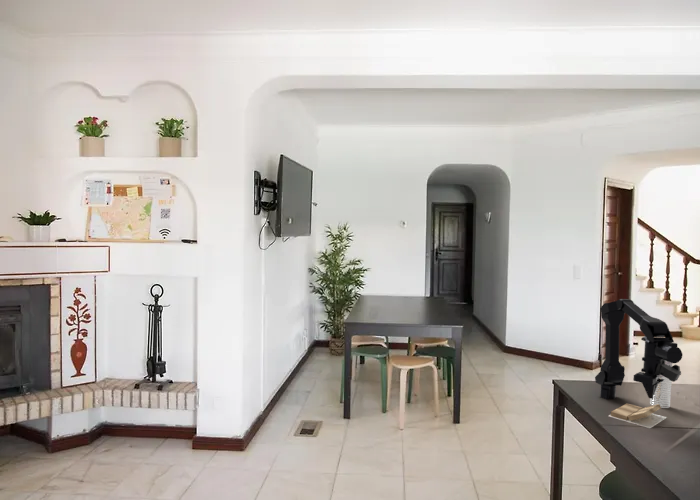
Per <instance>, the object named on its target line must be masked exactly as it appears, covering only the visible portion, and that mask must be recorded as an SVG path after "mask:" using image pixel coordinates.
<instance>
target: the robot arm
mask: <svg viewBox="0 0 700 500" xmlns="http://www.w3.org/2000/svg"><path fill="white" fill-rule="evenodd" d="M600 314H601V315H600V316H601V320H602V321H603V322H604V324H605V347H604V348H605V349H604V350H605V351H604V354H605V358H604V360H603V362H602V363H601V365H600V371H599V372H598V373H597V374H596V375H595V377H594V381H595V383H597V384H598V385H599V386H600V388H599V389H600V390H599V397H600V398H602V399H605V400H615V399H616V395H617V392H616V391H617V386H621V387H622V385H623V382H624V379H625V377H626V375H625V370H626V369H625V365H622V364H621V362H620V325H621V323H623V321H624V319H625V314H626V315H627V316H628V317H630V318H631V319H632V320H633V321H634V322H635V323H637V324H638V325H639V330H640V331H641V333H642V334H643V335H644V336H643V337H641V341H644V354H643V357H641V361H643V367H642V368H641V369H640V371H639V372H636V373H635V374H633V377H632V378H633V381H634V382H636V383H640V384H642V386H643V388H644V390H645V393H646V395H647V397H648V399H650V398H651V399H652V398H653V396H654V393H655V391H656V388H657V386H658V384H659V383H661V382H662V381H664V379H660V377H659V376H660V375H662V376H664V377H666V378H668V379H669V380H670V381H672V382H673V383H674V382H676V381H678V380H679V378H680V376H682V371H681V367H680V365H678V364H677V363H680V361H681V360H682V358H683V352H682V350H681V348H679V347H678V343H677V342H675V341H674V338H673V335H672V333H671V331H670V329H669V327H668V324H667V322H665V321H664V320H661V319H659V318H657V317H653V316H651V315H650V314H648V313H647V312H646V311H645V310H643V309H642V308H641V307H639V306H638V305H637V304H636V303H635V302H634V301H633V300H632V299H630V298H629V299H627V298H619V299H617V300H615V301H610V302H604V303H603V304H602V305H601V306H600ZM665 361H668V362H671V363H672V364H673V365H672V367H671V366H670V365H666V364H665Z"/></svg>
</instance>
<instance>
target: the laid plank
mask: <svg viewBox="0 0 700 500" xmlns="http://www.w3.org/2000/svg"><path fill="white" fill-rule="evenodd" d="M642 408H643V407H641V406H638V405H635V404H630V403H625V404H623V405H621V406H619V407H617V408H616V409H614V410H611V411H610V415H611V416H613V417H617V418H620V419H623V420H628V419H629V418H628V416H630V415H632V414H633V413H635V412H637V411H639V410H640V409H642ZM613 417H612V418H613ZM620 419H619V420H620ZM623 420H622V421H623Z"/></svg>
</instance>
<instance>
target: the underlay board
mask: <svg viewBox="0 0 700 500" xmlns="http://www.w3.org/2000/svg"><path fill="white" fill-rule="evenodd" d="M608 417H610V418H613V419H617V420H619V421H623V422H627V423H631V424H634V425H637V426H641V427H643V428H647V429H651V428H653V427H655V426H656V425H657V424H659V423H661V422H662V421H664V420H666V419H667V418H668V417H667V416H663V415H659V414H655V413H652V414H650V415H649V416H647V417H644V418H640V419H636V420H631V421H630V420H629V419H628V420H623V419H620V418H617V417H613V416H611V414H609V415H608Z"/></svg>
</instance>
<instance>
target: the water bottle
mask: <svg viewBox="0 0 700 500" xmlns="http://www.w3.org/2000/svg"><path fill="white" fill-rule="evenodd" d="M665 364H666V365H670V366H671V367H672V366H673V363H671V362H668V361H665ZM659 377H660V379H664V381H662V382H661V383H659V384H658V386H657V388H656V391H655V393H654V396H653V398H652V399H651V398H649V404H650V405H651V406H653V405H657V404H659V405H660V407H661V408H660V409H669V408H670V407H671V396H672V393H671V392H672V382H673V381H670V380H669V379H668V378H666V377H664V376H662V375H660V376H659Z"/></svg>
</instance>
